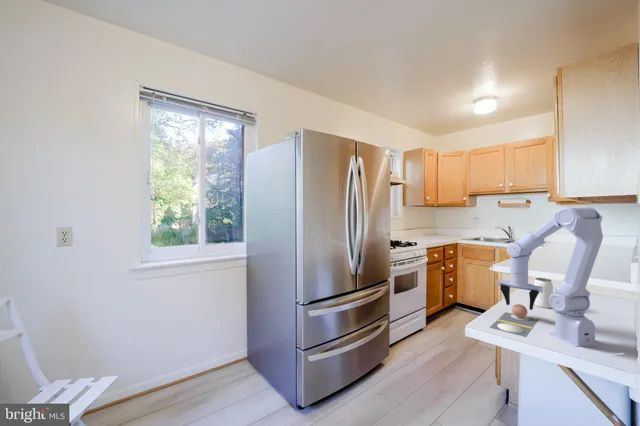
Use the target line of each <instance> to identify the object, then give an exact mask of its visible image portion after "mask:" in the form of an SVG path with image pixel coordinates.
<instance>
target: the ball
mask: <svg viewBox="0 0 640 426" xmlns="http://www.w3.org/2000/svg"><path fill="white" fill-rule="evenodd" d="M511 313H512V314H514V315H515V316H517V317H520V318H523V317H525V316H526V317H527V315H528V309H527V308H526V306H524V305H522V304H520V303H519V304H515V305H512V308H511Z"/></svg>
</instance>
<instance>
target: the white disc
mask: <svg viewBox="0 0 640 426" xmlns="http://www.w3.org/2000/svg"><path fill="white" fill-rule="evenodd" d="M497 327H498V328H499V329H501V330H504V331H507V332H506V333H508V332H512V333H522V332H524V329H523V328H521V327H519V326H516V325H513V324H507V323H500V324H498V325H497ZM504 331H503V332H504ZM512 333H511V334H512Z"/></svg>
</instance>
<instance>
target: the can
mask: <svg viewBox="0 0 640 426" xmlns="http://www.w3.org/2000/svg"><path fill="white" fill-rule="evenodd" d="M534 279H535V280H534V283H533V285H536V286H541V287H543V292H542V293H540V292H539V294H538V296H537V297H536V299H535V302H534V305H535V306H536V307H538V308H540V309H541V308H542V309H553V308H552V307H551V305H550V303H549V297H550V295H551V294H553V293H554V292H553V291H554V290H553V289H554V287H553V285H554V284H553V282H552V280H551V279H549V278H544V277H536V278H534Z"/></svg>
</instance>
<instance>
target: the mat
mask: <svg viewBox="0 0 640 426" xmlns="http://www.w3.org/2000/svg"><path fill="white" fill-rule="evenodd" d="M538 321H539V318H536V317H535V318H534V317H529V316H527V315H526V316H525V317H523V318H520V317H517V316H515V315H514V314H513V312H507V311H505V312H504V313H503V314H502V315H501V316H500V317H499V318H498V319H496V321H494V322H493V323H492V324H491V325H490V326H489V329H493V330H497V331H501V332H505V333H509V334H513V335H517V336H520V337H524V338H527V336H528V335H529V333H530V332H531V330H532V329H533V328H534V326H535V325H536V323H537V322H538ZM500 323H507V324H513V325H516V326H519V327H521V328H523V329H524V332H522V333H512V332H507V331H504V330H501V329H499V328H498V327H497V325H498V324H500Z"/></svg>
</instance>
